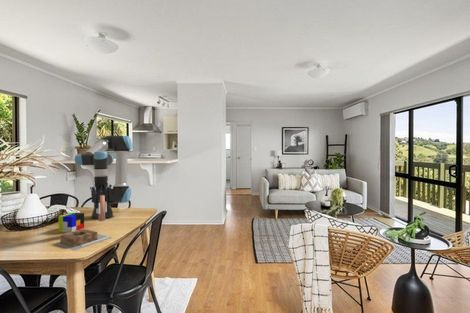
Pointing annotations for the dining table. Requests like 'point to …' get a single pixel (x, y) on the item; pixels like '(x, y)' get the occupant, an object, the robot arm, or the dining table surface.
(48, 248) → the dining table surface
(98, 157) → the robot arm
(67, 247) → the mat
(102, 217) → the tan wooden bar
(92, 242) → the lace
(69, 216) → the puzzle toy
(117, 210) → the dining table surface
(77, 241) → the brown wooden square block
